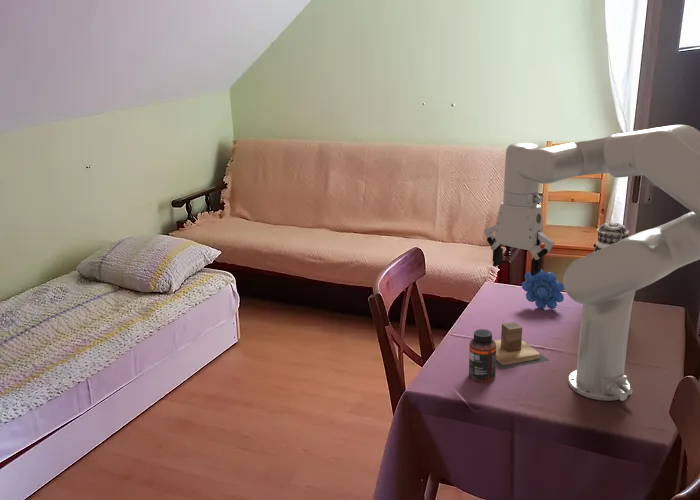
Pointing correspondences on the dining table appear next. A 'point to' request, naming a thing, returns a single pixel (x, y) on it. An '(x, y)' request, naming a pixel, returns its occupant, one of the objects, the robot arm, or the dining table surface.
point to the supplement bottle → (482, 357)
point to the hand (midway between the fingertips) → (515, 269)
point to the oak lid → (513, 346)
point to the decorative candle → (610, 235)
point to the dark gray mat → (521, 362)
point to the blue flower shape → (543, 289)
